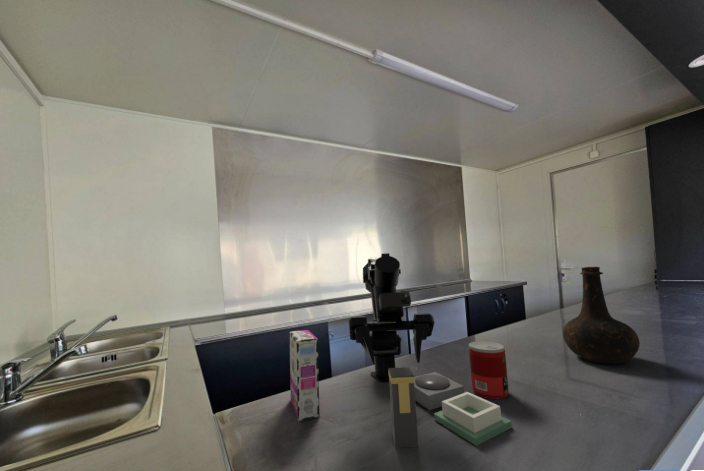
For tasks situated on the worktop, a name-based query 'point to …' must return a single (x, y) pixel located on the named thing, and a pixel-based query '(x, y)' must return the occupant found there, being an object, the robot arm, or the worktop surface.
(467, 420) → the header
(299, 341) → the candy bar box
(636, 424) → the worktop surface
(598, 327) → the glass bottle
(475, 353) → the canned food
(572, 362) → the worktop surface
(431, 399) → the grey domed square block
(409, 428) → the dark grey tall block
